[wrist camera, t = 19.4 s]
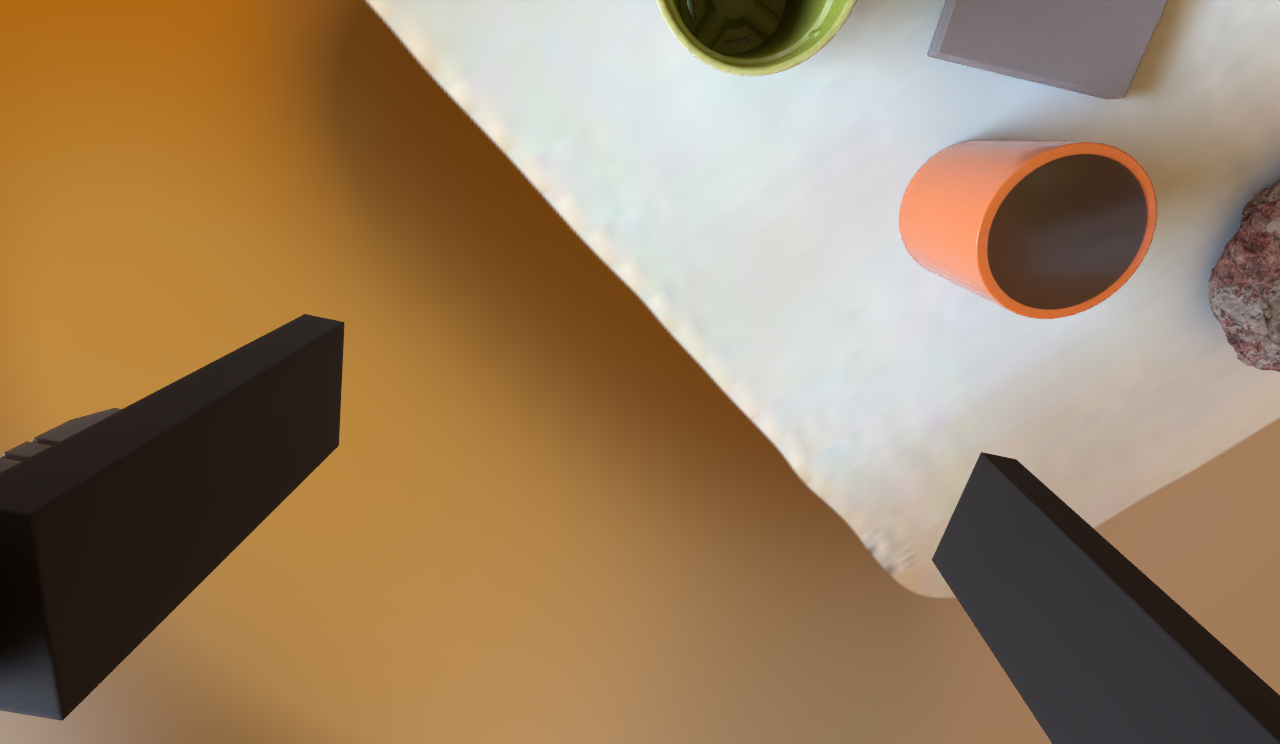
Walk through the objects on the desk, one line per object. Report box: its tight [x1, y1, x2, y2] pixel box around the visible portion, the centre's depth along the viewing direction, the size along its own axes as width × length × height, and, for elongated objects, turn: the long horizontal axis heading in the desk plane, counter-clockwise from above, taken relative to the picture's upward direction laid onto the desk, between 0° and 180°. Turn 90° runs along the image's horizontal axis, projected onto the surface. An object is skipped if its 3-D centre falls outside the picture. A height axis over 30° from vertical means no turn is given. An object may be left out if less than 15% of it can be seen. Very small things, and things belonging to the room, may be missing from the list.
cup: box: [899, 140, 1157, 319], centre depth 34 cm, size 8×8×10 cm
